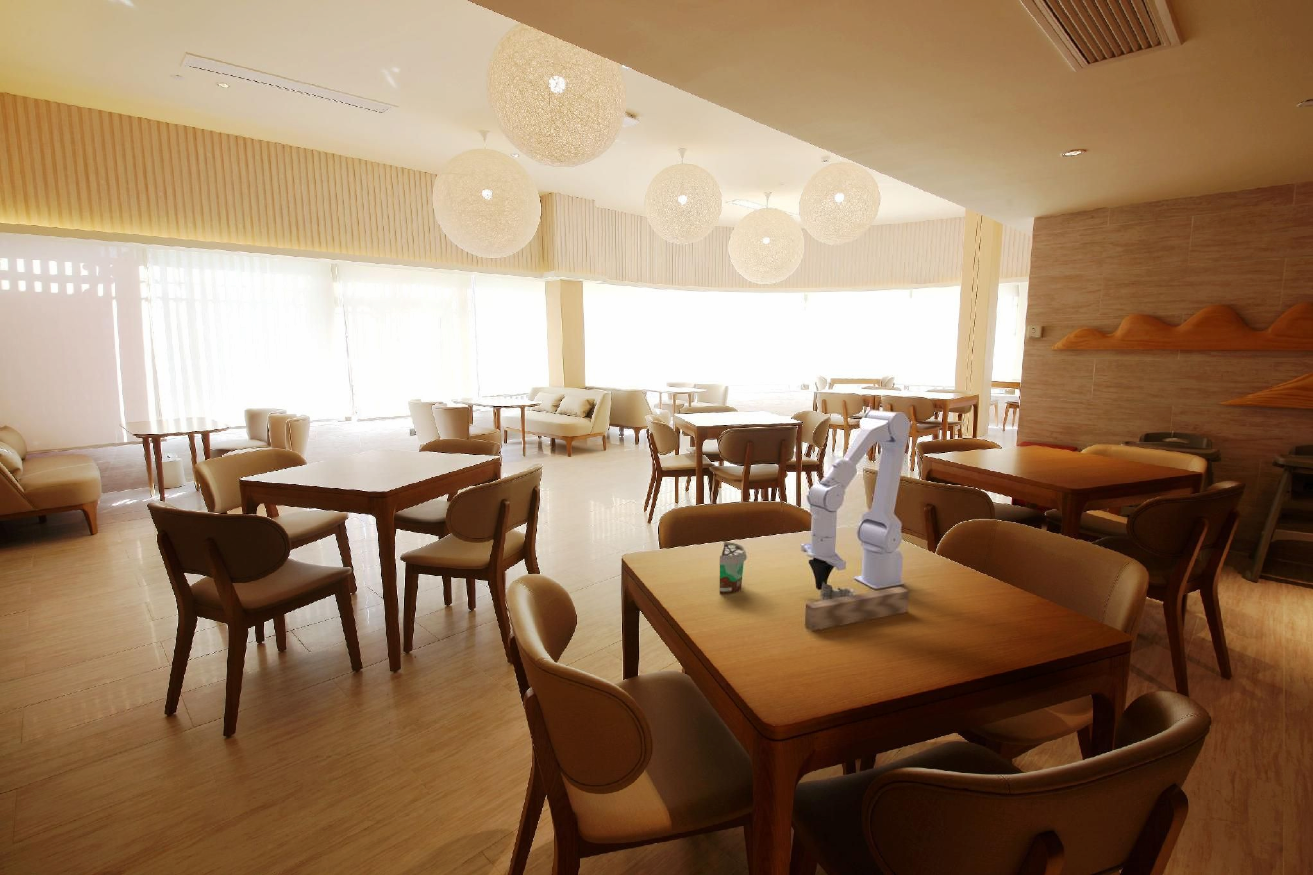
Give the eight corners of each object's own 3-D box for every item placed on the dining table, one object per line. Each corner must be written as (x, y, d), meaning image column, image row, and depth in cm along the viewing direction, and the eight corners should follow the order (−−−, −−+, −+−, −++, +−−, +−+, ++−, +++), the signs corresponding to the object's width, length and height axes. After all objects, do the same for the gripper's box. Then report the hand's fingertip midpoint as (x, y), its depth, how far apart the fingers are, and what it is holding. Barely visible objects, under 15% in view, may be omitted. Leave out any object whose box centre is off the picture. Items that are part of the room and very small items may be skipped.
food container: (744, 598, 141) (745, 558, 139) (718, 596, 142) (719, 556, 140) (747, 579, 153) (748, 542, 151) (723, 577, 154) (724, 540, 152)
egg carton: (821, 596, 142) (821, 580, 141) (853, 600, 140) (854, 583, 139) (818, 614, 132) (819, 596, 131) (854, 618, 130) (854, 601, 129)
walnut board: (899, 607, 136) (900, 586, 135) (907, 611, 133) (909, 590, 133) (804, 625, 126) (805, 603, 126) (812, 630, 124) (812, 608, 123)
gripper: (791, 527, 145) (789, 580, 147) (828, 545, 132) (826, 602, 134) (815, 524, 148) (813, 576, 149) (854, 541, 134) (851, 598, 136)
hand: (821, 588), depth 142 cm, fingers closed
